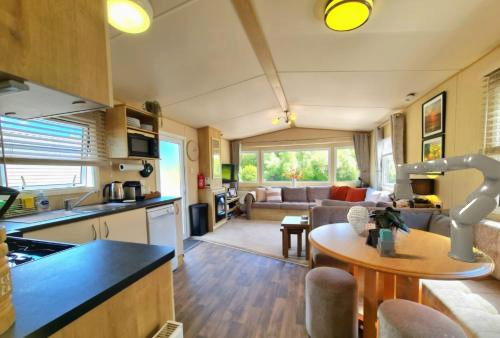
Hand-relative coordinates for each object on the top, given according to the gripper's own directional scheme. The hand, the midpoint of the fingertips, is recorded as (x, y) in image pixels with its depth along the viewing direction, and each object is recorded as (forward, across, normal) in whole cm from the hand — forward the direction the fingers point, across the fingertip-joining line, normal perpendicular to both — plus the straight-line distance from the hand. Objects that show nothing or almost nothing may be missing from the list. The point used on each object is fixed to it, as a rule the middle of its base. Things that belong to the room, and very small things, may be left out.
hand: (403, 207), depth 141 cm
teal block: (+18, +14, +12) cm, 26 cm away
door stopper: (+28, +17, -3) cm, 33 cm away
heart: (+28, +22, -28) cm, 46 cm away
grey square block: (+28, +14, +12) cm, 34 cm away
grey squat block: (+23, +14, +12) cm, 30 cm away
